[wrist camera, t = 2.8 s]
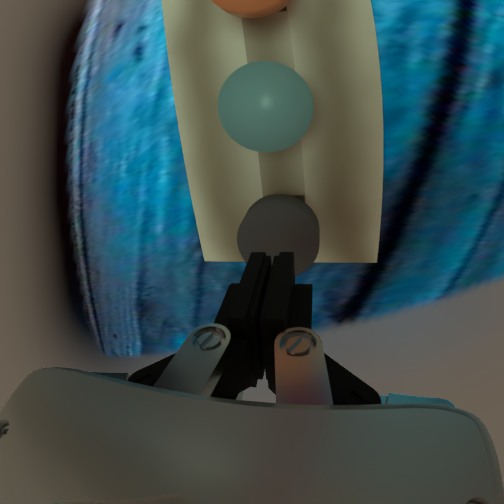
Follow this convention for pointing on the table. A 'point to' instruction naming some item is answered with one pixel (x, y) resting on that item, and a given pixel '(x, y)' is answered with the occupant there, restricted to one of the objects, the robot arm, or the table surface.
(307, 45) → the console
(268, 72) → the button teal
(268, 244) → the button charcoal
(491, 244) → the table surface
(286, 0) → the button vermilion
